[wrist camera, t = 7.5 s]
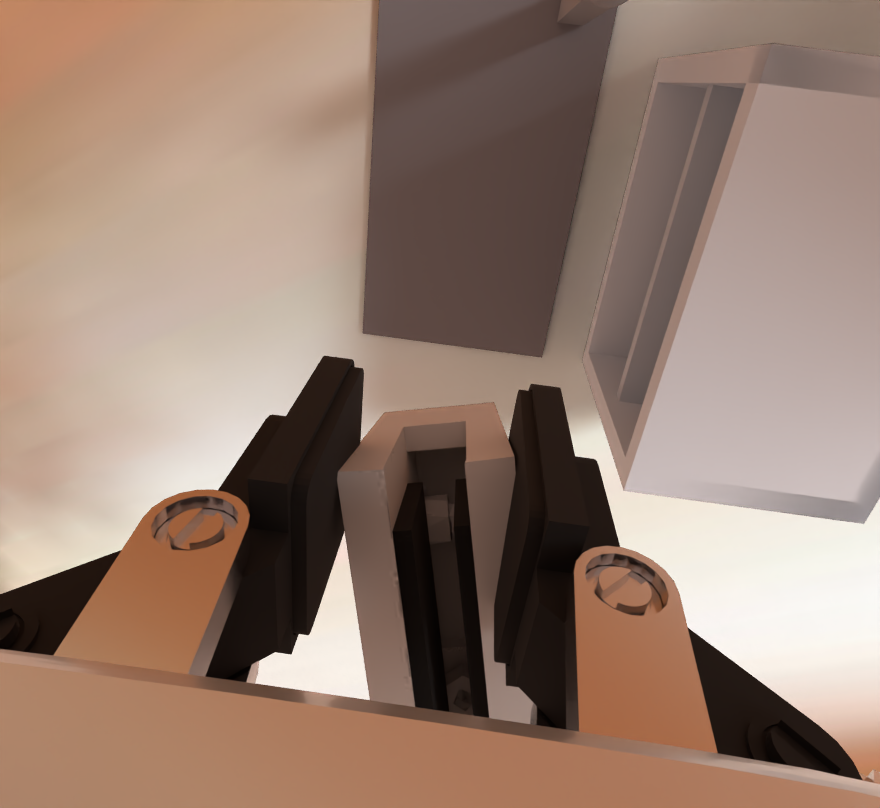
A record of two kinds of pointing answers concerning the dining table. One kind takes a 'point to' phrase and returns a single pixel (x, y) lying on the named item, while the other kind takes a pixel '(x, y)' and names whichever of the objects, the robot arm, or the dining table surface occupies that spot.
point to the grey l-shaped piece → (478, 164)
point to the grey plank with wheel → (431, 557)
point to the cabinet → (748, 286)
